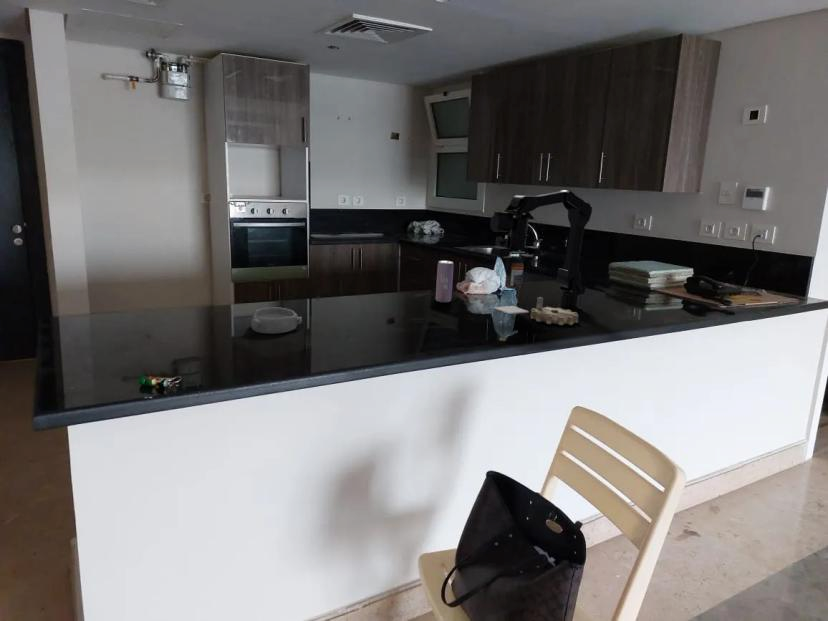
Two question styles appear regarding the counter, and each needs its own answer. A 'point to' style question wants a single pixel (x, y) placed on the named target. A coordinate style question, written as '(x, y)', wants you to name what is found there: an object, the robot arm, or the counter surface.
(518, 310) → the pad
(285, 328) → the dish
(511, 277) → the supplement bottle
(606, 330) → the counter surface
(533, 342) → the counter surface
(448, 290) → the beverage can
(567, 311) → the sprocket
